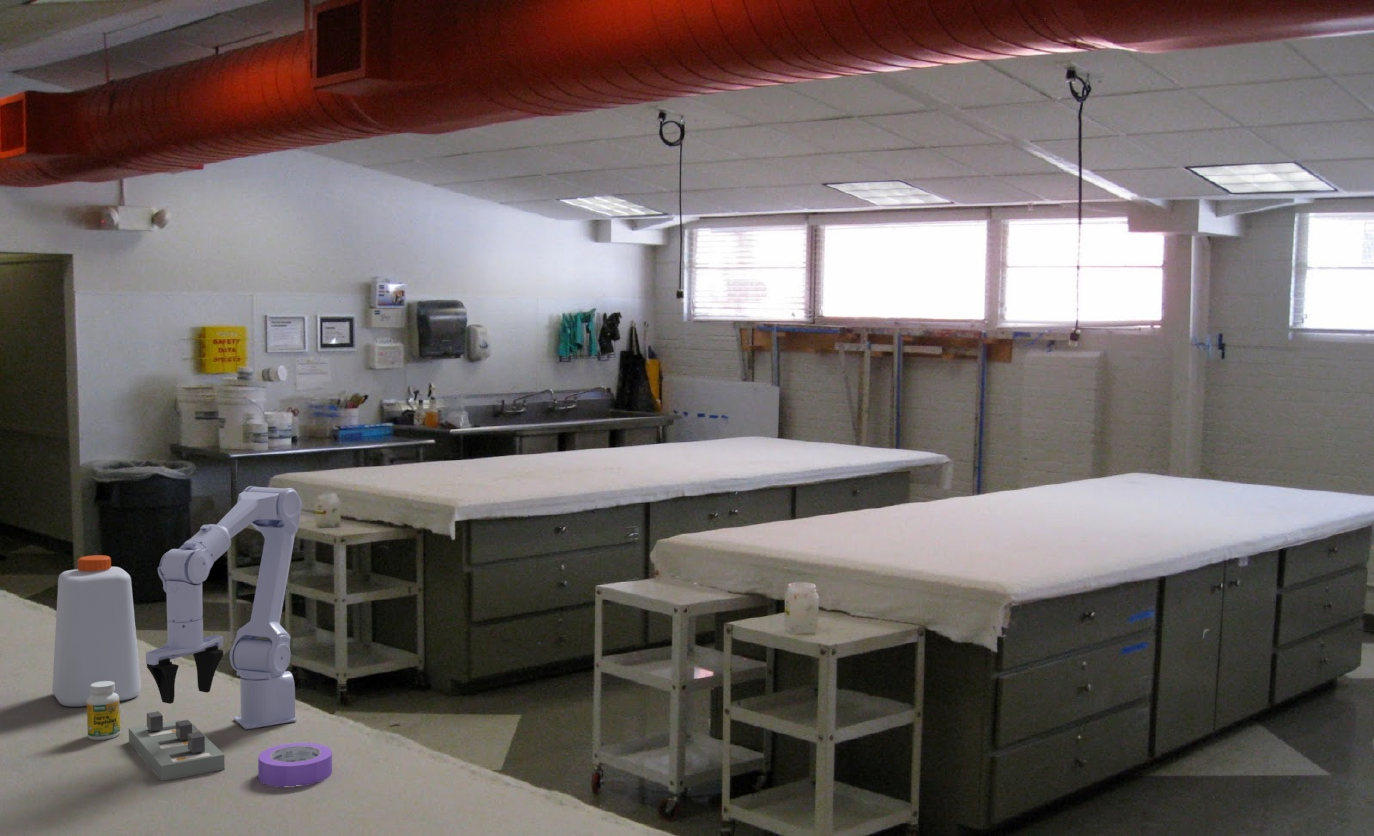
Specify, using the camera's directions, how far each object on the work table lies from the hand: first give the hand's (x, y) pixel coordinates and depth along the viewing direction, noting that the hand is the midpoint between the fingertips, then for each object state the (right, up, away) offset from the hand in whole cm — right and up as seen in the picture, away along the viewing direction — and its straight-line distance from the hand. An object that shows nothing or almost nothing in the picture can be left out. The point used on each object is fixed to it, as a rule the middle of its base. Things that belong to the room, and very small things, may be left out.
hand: (186, 696), depth 218 cm
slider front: (+4, -8, -5) cm, 10 cm away
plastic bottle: (-32, -8, +36) cm, 49 cm away
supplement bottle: (-19, -10, +11) cm, 24 cm away
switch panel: (-2, -10, +1) cm, 11 cm away
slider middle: (-1, -7, +1) cm, 8 cm away
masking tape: (+21, -12, -8) cm, 26 cm away
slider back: (-8, -7, +6) cm, 12 cm away
